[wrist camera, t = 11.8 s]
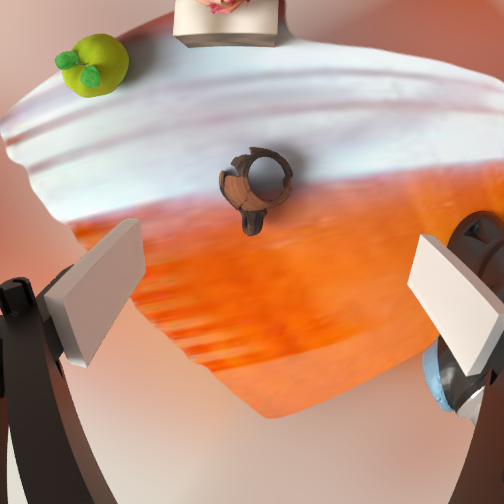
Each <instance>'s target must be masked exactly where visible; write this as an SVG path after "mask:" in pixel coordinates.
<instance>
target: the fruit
mask: <svg viewBox="0 0 504 504" xmlns="http://www.w3.org/2000/svg"><path fill="white" fill-rule="evenodd" d="M55 63H56V65H57V67H58V68H59V69H61V70H62V74H63V78H64V81H65V83H66V85H67V86H68V87H69V88H70V89H72V90H73V91H74V92H75V93H76V94H78V95H80V96H82V97H86V98H90V97H96V96H101V95H106V94H109V93H111V92H113V91H114V90H115V89H116V88H117V87H118V85H119V84H120V83H121V81H122V80H123V78H124V77H125V75H126V73H127V70H128V66H129V56H128V53H127V51H126V49H125V47H124V46H123V45H122V44H121V43H120V42H119V41H118V40H117V39H115V38H114V37H112V36H110V35H107V34H95V35H92V36H89V37H86V38H84V39H82V40H81V41H79V42H78V43H77V44H76V45H75V46H74V47H73V49H72V50H71V52H70V51H69V52H63V53H61V54H59V55H58V56H57V57H56V58H55Z"/></svg>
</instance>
